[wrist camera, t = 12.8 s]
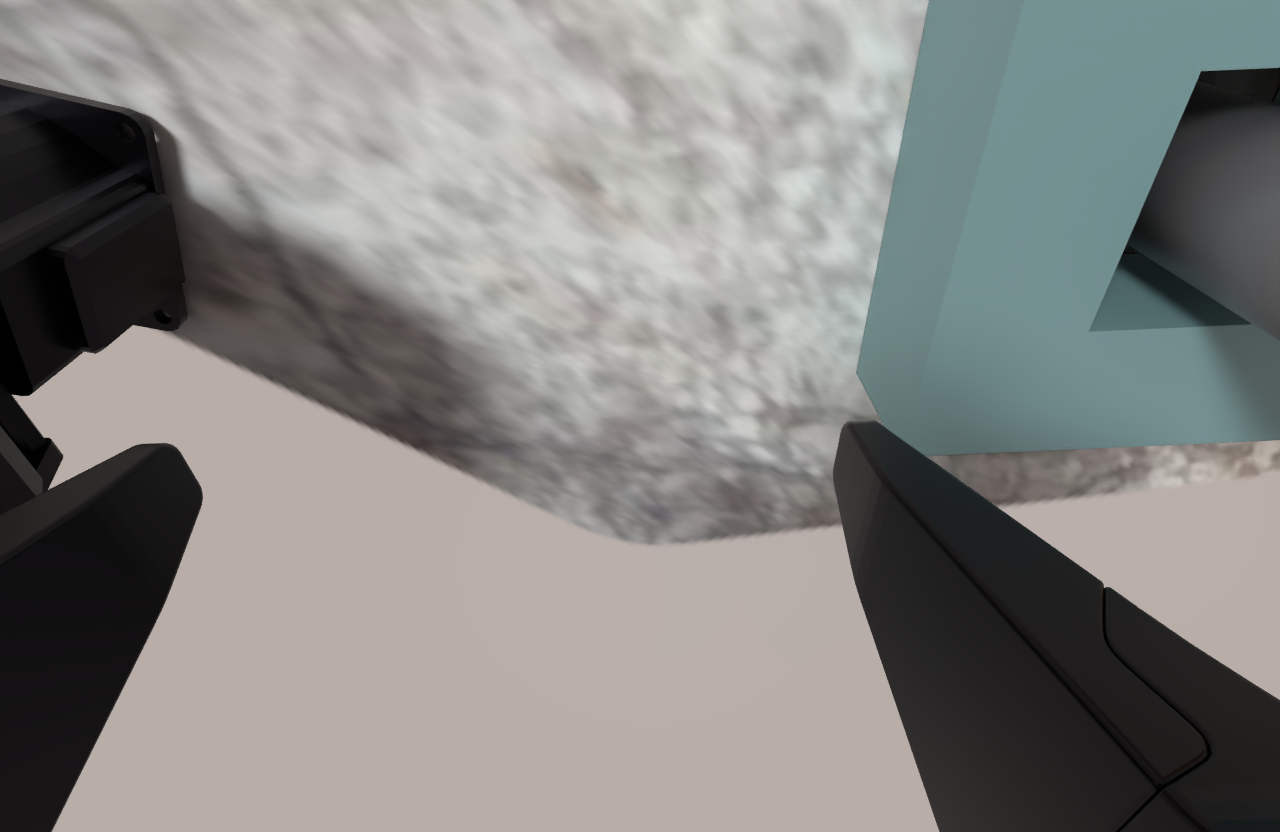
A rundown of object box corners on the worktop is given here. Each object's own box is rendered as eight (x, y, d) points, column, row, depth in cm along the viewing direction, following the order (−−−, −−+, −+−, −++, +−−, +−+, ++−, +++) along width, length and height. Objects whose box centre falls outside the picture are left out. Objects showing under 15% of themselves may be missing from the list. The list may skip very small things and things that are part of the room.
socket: (856, 372, 23) (901, 456, 19) (960, -162, 14) (1075, -190, 11) (1257, 354, 23) (1376, 435, 19) (1598, -190, 14) (1925, -228, 11)
